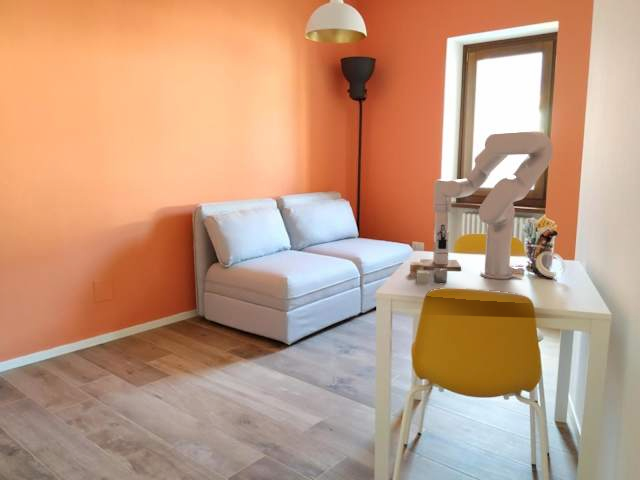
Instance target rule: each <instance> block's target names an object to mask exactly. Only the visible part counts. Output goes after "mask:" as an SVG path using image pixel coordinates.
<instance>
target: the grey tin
mask: <svg viewBox="0 0 640 480" xmlns="http://www.w3.org/2000/svg"><path fill="white" fill-rule="evenodd" d="M446 282H447V283H448V270H447V269H444V268H435V269H434V270H433V283H435V284H440V283H443V284H447V283H446Z"/></svg>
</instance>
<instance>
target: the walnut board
mask: <svg viewBox="0 0 640 480" xmlns="http://www.w3.org/2000/svg"><path fill="white" fill-rule="evenodd" d="M420 262H423V271H432V270H433V271H434V269H435V268H444V269H447V271H462V266H461V265H460V263H459V262H458V260H457V259H448V264H435V263H434V261H433V258H432V259H429V258H428V259H427V258H426V259H425V258H423V259H420Z"/></svg>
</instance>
